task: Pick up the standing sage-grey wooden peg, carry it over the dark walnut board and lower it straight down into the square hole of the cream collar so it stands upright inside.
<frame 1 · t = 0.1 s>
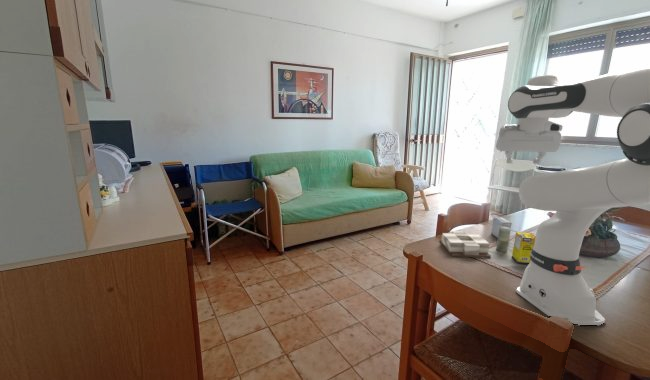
hand: (522, 163, 109), 39 cm above the table, tool pointing down, fingers open, 8 cm apart
supplement box: (522, 261, 117), on the table
peg: (501, 249, 127), on the table
medicine box: (499, 237, 142), on the table
holder board: (463, 248, 128), on the table
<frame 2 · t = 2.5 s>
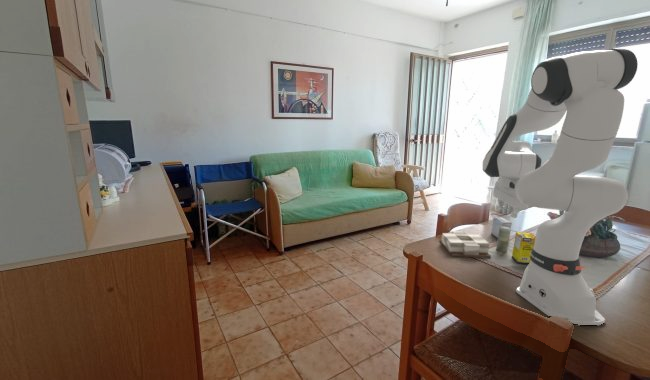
hand: (507, 213, 124), 16 cm above the table, tool pointing down, fingers open, 8 cm apart
nothing on the table moved.
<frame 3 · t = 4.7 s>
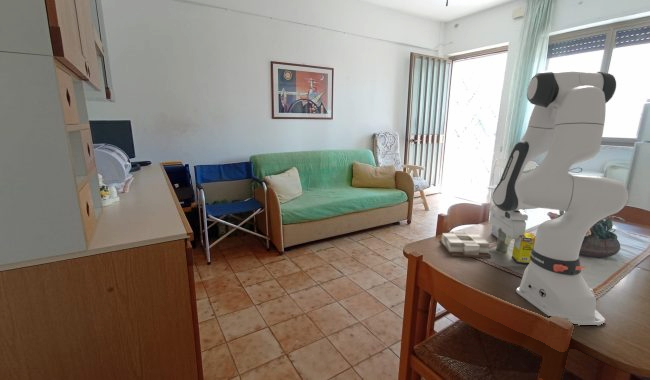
hand: (503, 241, 126), 4 cm above the table, tool pointing down, fingers closed on peg, 4 cm apart
peg: (501, 249, 127), on the table, touching gripper
everything else where it was.
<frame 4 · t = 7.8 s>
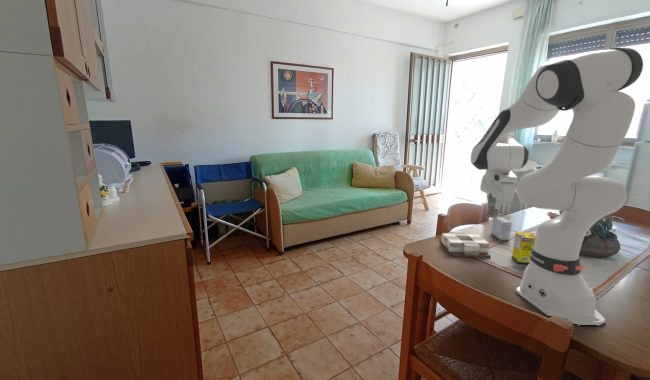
hand: (493, 206, 123), 19 cm above the table, tool pointing down, fingers closed on peg, 4 cm apart
peg: (492, 216, 124), point 15 cm above the table, touching gripper
everything else where it was.
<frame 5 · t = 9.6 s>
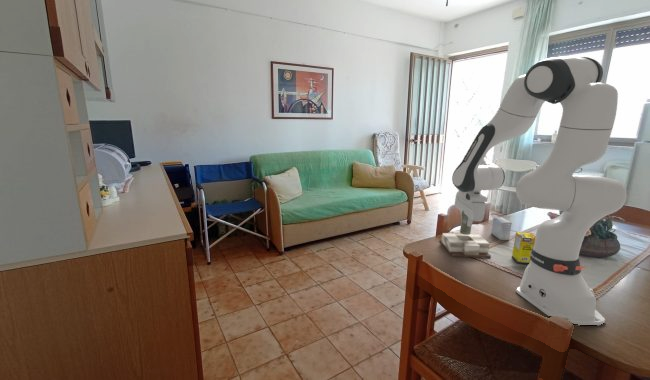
hand: (466, 223, 125), 11 cm above the table, tool pointing down, fingers closed on peg, 4 cm apart
peg: (465, 232, 126), point 7 cm above the table, touching gripper
everything else where it was.
when the fingers open (7 cm above the table, at t = 11.0 s): peg drops 1 cm, resting on holder board.
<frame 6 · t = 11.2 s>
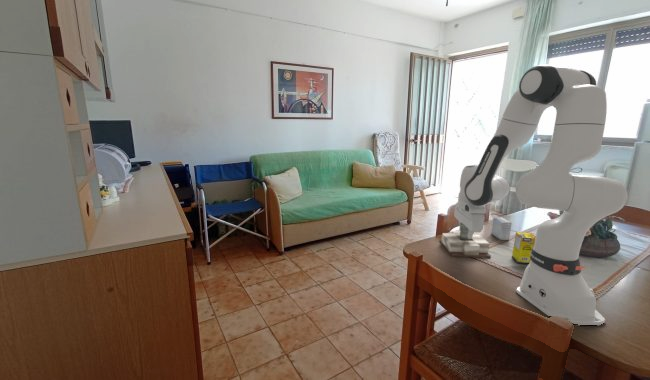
hand: (465, 234, 126), 7 cm above the table, tool pointing down, fingers open, 6 cm apart
peg: (464, 246, 128), point 1 cm above the table, touching holder board
everything else where it was.
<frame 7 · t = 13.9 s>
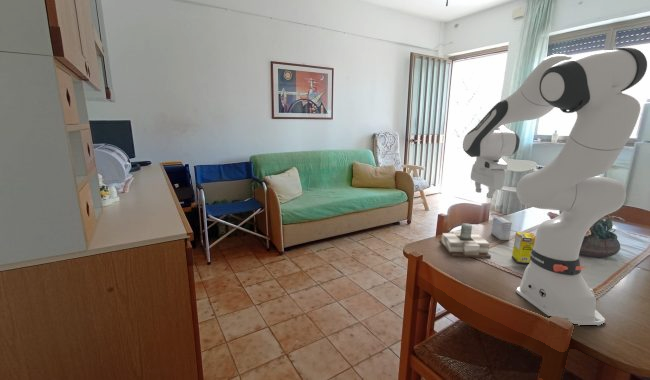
hand: (483, 194, 124), 24 cm above the table, tool pointing down, fingers open, 8 cm apart
nothing on the table moved.
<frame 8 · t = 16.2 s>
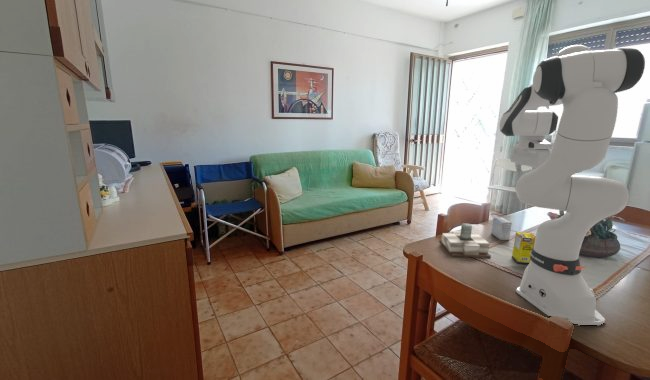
hand: (525, 175, 126), 31 cm above the table, tool pointing down, fingers open, 8 cm apart
nothing on the table moved.
at the end: peg 0.1 cm off-centre on the holder board, point 1.0 cm above the holder board's base; peg tilted 0°; the gripper is holding nothing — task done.
